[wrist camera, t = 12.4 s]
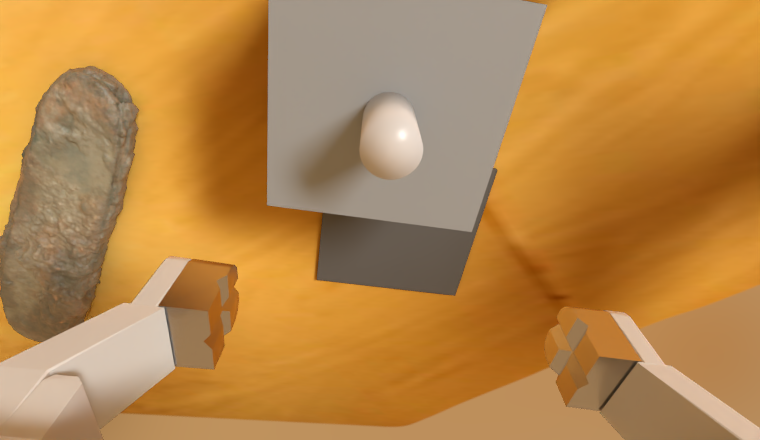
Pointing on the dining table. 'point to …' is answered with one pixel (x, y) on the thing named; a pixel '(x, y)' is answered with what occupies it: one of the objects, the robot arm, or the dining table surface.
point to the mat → (395, 252)
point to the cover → (392, 104)
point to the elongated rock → (66, 202)
